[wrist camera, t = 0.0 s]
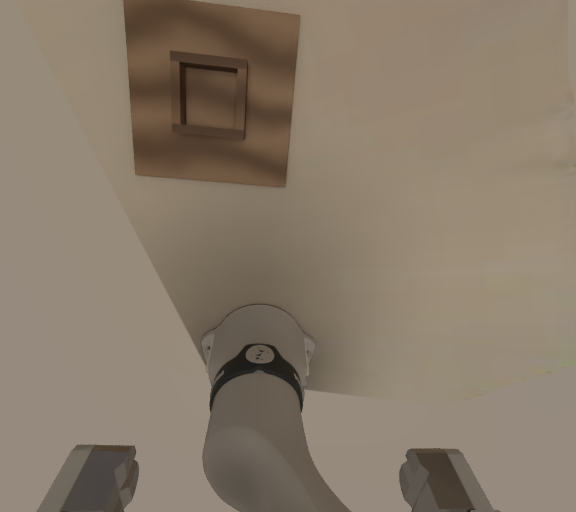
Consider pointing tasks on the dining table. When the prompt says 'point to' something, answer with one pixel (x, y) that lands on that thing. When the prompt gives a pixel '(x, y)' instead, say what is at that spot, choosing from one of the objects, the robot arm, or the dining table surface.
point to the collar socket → (210, 90)
